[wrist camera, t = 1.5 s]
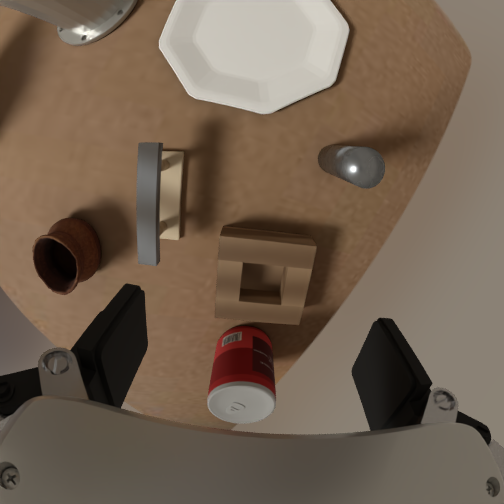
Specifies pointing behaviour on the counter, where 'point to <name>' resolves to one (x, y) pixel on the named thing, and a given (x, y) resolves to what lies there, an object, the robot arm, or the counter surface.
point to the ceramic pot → (67, 255)
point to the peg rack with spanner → (157, 199)
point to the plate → (254, 50)
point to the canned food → (242, 376)
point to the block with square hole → (263, 275)
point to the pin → (353, 164)
